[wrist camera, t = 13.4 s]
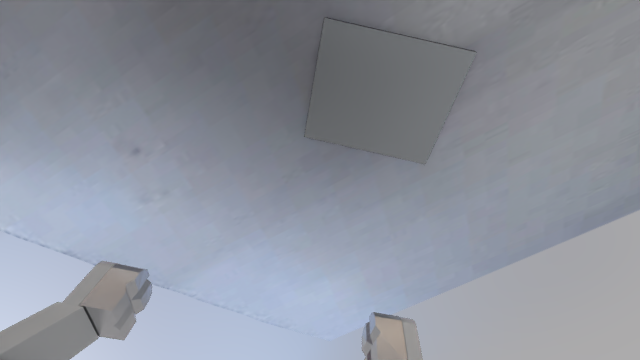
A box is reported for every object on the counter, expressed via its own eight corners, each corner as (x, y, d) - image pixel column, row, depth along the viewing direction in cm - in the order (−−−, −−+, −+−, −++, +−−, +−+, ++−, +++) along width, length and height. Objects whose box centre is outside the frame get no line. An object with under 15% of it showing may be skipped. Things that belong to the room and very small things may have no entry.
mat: (304, 134, 34) (304, 136, 33) (324, 17, 27) (324, 17, 26) (424, 162, 34) (425, 164, 33) (474, 51, 27) (476, 52, 26)
